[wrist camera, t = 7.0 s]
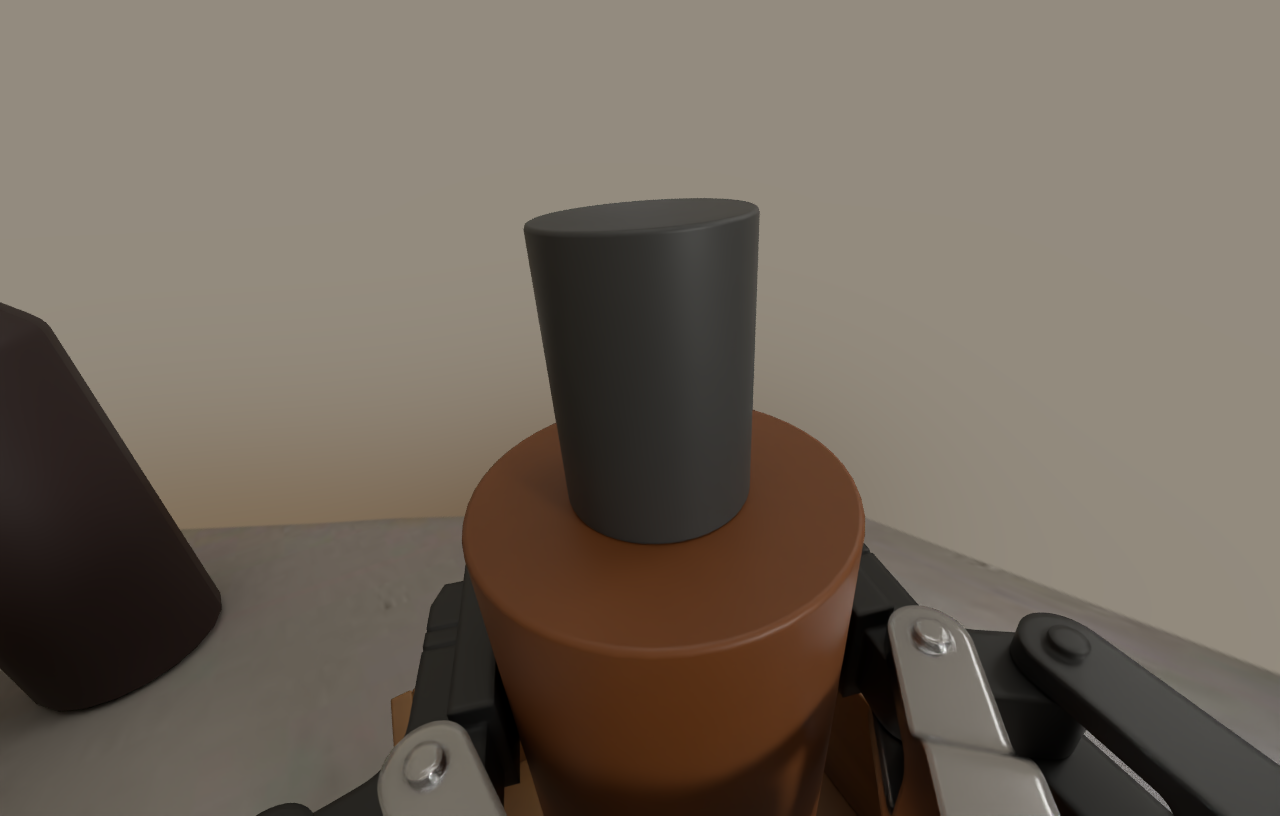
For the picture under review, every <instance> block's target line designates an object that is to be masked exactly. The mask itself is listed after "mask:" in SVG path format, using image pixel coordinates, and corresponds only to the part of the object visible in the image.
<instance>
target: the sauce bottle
mask: <svg viewBox="0 0 1280 816" xmlns="http://www.w3.org/2000/svg"><path fill="white" fill-rule="evenodd" d="M524 235H525V240H526V247H527V253H528V259H529V265H530V270H531V277H532V282H533V288H534V294H535V300H536V306H537V312H538V318H539V324H540V330H541V335H542V342H543V347H544V353H545V359H546V365H547V371H548V377H549V383H550V388H551V395H552V400H553V407H554V413H555V419H556V423H554V424H552V425H550V426H549V427H546V428H544V429H542V430H540V431H538V432H536V433H535V434H533V435H532V436H530V437H528V438H526V439H525V440H523V441H522V442H520V443H519V444H518V445H516V446H515V447H513V448H512V449H511V450H509V451H508V452H507V453H506V454H505V455H503V456H502V457H501V458H500V459H499V460H498V461H497V462H496V463H495V464H494V465H493V466H492V467H491V468H490V469H489V471H488V472H487V473H486V474H485V475H484V477H483V478H482V479H481V481H480V482H479V484H478V486H477V487H476V489H475V490H474V492H473V495H472V497H471V499H470V501H469V503H468V506H467V510H466V514H465V518H464V522H463V530H462V546H463V552H464V558H465V562H466V566H467V569H468V572H469V575H470V579H471V582H472V585H473V588H474V591H475V595H476V598H477V601H478V604H479V608H480V611H481V614H482V617H483V621H484V624H485V627H486V630H487V634H488V637H489V640H490V643H491V647H492V650H493V653H494V656H495V659H496V663H497V666H498V669H499V672H500V676H501V679H502V682H503V685H504V689H505V692H506V695H507V698H508V702H509V705H510V708H511V711H512V714H513V718H514V721H515V724H516V727H517V731H518V734H519V737H520V740H521V744H522V747H523V750H524V753H525V757H526V760H527V763H528V766H529V770H530V773H531V776H532V779H533V782H534V786H535V789H536V792H537V795H538V799H539V802H540V805H541V808H542V812H543V815H544V816H816V812H817V807H818V801H819V795H820V790H821V784H822V778H823V772H824V767H825V761H826V755H827V749H828V744H829V738H830V732H831V726H832V721H833V715H834V709H835V703H836V698H837V692H838V686H839V680H840V675H841V669H842V663H843V657H844V652H845V646H846V640H847V634H848V629H849V623H850V617H851V611H852V606H853V600H854V594H855V588H856V583H857V577H858V571H859V565H860V560H861V554H862V548H863V542H864V537H865V514H864V509H863V504H862V499H861V497H860V494H859V492H858V490H857V487H856V485H855V482H854V480H853V478H852V477H851V475H850V474H849V472H848V471H847V469H846V468H845V466H844V465H843V464H842V463H841V462H840V461H839V459H838V458H837V457H836V456H835V455H834V454H833V453H832V452H831V451H830V450H829V449H828V448H826V447H825V446H824V445H823V444H822V443H820V442H819V441H818V440H816V439H815V438H813V437H812V436H810V435H809V434H807V433H806V432H804V431H802V430H801V429H799V428H797V427H795V426H793V425H791V424H789V423H787V422H785V421H782V420H780V419H778V418H775V417H773V416H770V415H767V414H764V413H761V412H758V411H755V410H753V382H754V381H753V380H754V352H755V326H756V325H755V324H756V297H757V268H758V241H759V240H758V239H759V208H758V207H757V206H756V205H754V204H752V203H749V202H746V201H739V200H731V199H711V198H693V199H692V198H691V199H664V200H663V199H661V200H645V201H632V202H622V203H612V204H603V205H595V206H587V207H581V208H575V209H569V210H563V211H558V212H554V213H549V214H546V215H542V216H539V217H536V218H534V219H532V220H530V221H528V222H527V223H525V226H524Z"/></svg>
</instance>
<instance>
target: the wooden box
mask: <svg viewBox="0 0 1280 816" xmlns="http://www.w3.org/2000/svg"><path fill="white" fill-rule="evenodd" d="M414 691H415V689H413V692H412V691H408V692H406V693H404V694H401V695H399V696H397V697H395V698H393V699H391V713H392V727H393V742H394V747H395V746H396V745H397V744H398V742H400V741H401V740H402V739H403V738H404V736H405V733H406V730H407V726H408V722H409V717H410V712H411V706H412V701H413V696H414ZM868 710H869V704H868V703H867V701H866V700H865V698H864V696H863V695H862V693H859V694H855V695H851V696H848V697H844V698H843V697H842V695H841V694H840V692H839V690H838V692H837V698H836V703H835V709H834V715H833V721H832V726H831V732H830V738H829V744H828V749H827V755H826V761H825V767H824V772H823V778H822V784H821V790H820V795H819V801H818V807H817V812H816V816H881V810H880V803H879V796H878V788H877V781H876V774H875V767H874V760H873V753H872V746H871V739H870V732H869V725H868ZM504 810H505V812H506V814H507V816H544V815H543V812H542V808H541V805H540V802H539V799H538V795H537V792H536V789H535V786H534V782H533V779H532V776H531V773H530V770H529V766H528V763H527V760H526V757H525V753H524V750H523V747H522V744H521V740H520V783H519V784H515V785H511V786H507V787H504Z"/></svg>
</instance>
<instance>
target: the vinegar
mask: <svg viewBox="0 0 1280 816" xmlns="http://www.w3.org/2000/svg"><path fill="white" fill-rule="evenodd" d="M221 609H222V608H221V596H220V592H219V590H218V589H217V587H216V586H215V584H214V583H213V581H212V579H211V578H210V576H209V575H208V573H207V572H206V570H205V568H204V567H203V565H202V564H201V562H200V561H199V559H198V557H197V556H196V554H195V553H194V551H193V550H192V548H191V547H190V545H189V543H188V542H187V540H186V539H185V537H184V536H183V534H182V532H181V531H180V529H179V528H178V526H177V525H176V523H175V522H174V520H173V518H172V517H171V515H170V514H169V512H168V511H167V509H166V508H165V506H164V504H163V503H162V501H161V500H160V498H159V496H158V495H157V493H156V492H155V490H154V489H153V487H152V486H151V484H150V482H149V481H148V479H147V478H146V476H145V475H144V473H143V472H142V470H141V468H140V467H139V465H138V464H137V462H136V461H135V459H134V457H133V456H132V454H131V453H130V451H129V450H128V448H127V446H126V445H125V443H124V442H123V440H122V439H121V437H120V436H119V434H118V432H117V431H116V429H115V428H114V426H113V425H112V423H111V421H110V420H109V418H108V417H107V415H106V414H105V412H104V410H103V409H102V407H101V406H100V404H99V403H98V401H97V399H96V398H95V396H94V395H93V393H92V392H91V390H90V388H89V387H88V386H87V384H86V382H85V381H84V379H83V378H82V376H81V374H80V373H79V371H78V370H77V368H76V367H75V365H74V363H73V362H72V360H71V359H70V357H69V356H68V354H67V353H66V351H65V349H64V348H63V346H62V345H61V343H60V342H59V340H58V338H57V337H56V335H55V334H54V332H53V331H52V329H51V328H50V327H49V325H48V324H47V323H46V322H44V321H43V320H42V319H40V318H38V317H36V316H34V315H31V314H29V313H27V312H24V311H21V310H19V309H16V308H14V307H11V306H8V305H6V304H3V303H0V669H1V670H2V671H3V672H4V673H5V674H6V675H7V676H8V677H9V678H11V679H12V680H13V681H14V682H15V683H16V684H17V685H18V686H19V687H20V688H21V689H22V690H23V691H24V692H25V693H26V694H27V695H28V696H29V697H30V698H31V699H32V700H33V701H34V702H35V703H36V704H38V705H41V706H44V707H47V708H50V709H53V710H57V711H65V710H75V709H84V708H88V707H91V706H95V705H98V704H101V703H104V702H107V701H110V700H113V699H117V698H119V697H121V696H123V695H125V694H127V693H129V692H131V691H133V690H136V689H138V688H140V687H142V686H144V685H146V684H148V683H149V682H151V681H152V680H154V679H155V678H157V677H159V676H160V675H162V674H163V673H165V672H166V671H168V670H169V669H171V668H172V667H174V666H175V665H176V664H178V663H179V662H180V661H181V660H182V659H183V658H185V657H186V656H187V655H188V654H189V653H190V652H191V651H193V650H194V649H195V648H196V647H197V646H198V645H199V644H200V643H201V641H202V640H203V639H204V638H205V636H206V635H207V634H208V633H209V632H210V630H211V629H212V628H213V626H214V625H215V623H216V620H217V618H218V616H219V614H220V612H221Z"/></svg>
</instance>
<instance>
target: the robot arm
mask: <svg viewBox="0 0 1280 816" xmlns="http://www.w3.org/2000/svg"><path fill="white" fill-rule="evenodd" d="M838 690H839V692H840V694H841V695H842V697H843V698H844V697H848V696H851V695H855V694H859V693H862V695H863V696H864V698H865V700H866V701H867V703H868V704H869V710H868V725H869V732H870V739H871V746H872V753H873V760H874V767H875V774H876V781H877V788H878V796H879V803H880V810H881V816H1280V766H1279V765H1278V764H1277V763H1275V762H1274V761H1273V760H1271V759H1270V758H1268V757H1267V756H1266V755H1264V754H1263V753H1261V752H1260V751H1259V750H1257V749H1256V748H1254V747H1253V746H1252V745H1250V744H1249V743H1248V742H1246V741H1245V740H1243V739H1242V738H1241V737H1239V736H1238V735H1236V734H1235V733H1234V732H1232V731H1231V730H1230V729H1228V728H1227V727H1225V726H1224V725H1223V724H1221V723H1220V722H1218V721H1217V720H1216V719H1214V718H1213V717H1211V716H1210V715H1209V714H1207V713H1206V712H1205V711H1203V710H1202V709H1200V708H1199V707H1198V706H1196V705H1195V704H1193V703H1192V702H1191V701H1189V700H1188V699H1187V698H1185V697H1184V696H1182V695H1181V694H1180V693H1178V692H1177V691H1175V690H1174V689H1173V688H1171V687H1170V686H1168V685H1167V684H1166V683H1164V682H1163V681H1162V680H1160V679H1159V678H1157V677H1156V676H1155V675H1153V674H1152V673H1150V672H1149V671H1148V670H1146V669H1145V668H1144V667H1142V666H1141V665H1139V664H1138V663H1137V662H1135V661H1134V660H1132V659H1131V658H1130V657H1128V656H1127V655H1125V654H1124V653H1123V652H1121V651H1120V650H1119V649H1117V648H1116V647H1114V646H1113V645H1112V644H1110V643H1109V642H1107V641H1106V640H1105V639H1103V638H1102V637H1101V636H1099V635H1098V634H1096V633H1095V632H1094V631H1092V630H1090V629H1089V628H1087V627H1086V626H1084V625H1082V624H1080V623H1078V622H1076V621H1074V620H1072V619H1069V618H1066V617H1063V616H1060V615H1056V614H1051V613H1032V614H1029V615H1026V616H1025V617H1023V618H1022V619H1021V620H1020V622H1019V624H1018V627H1017V629H1016V632H999V631H984V630H971V629H965V628H964V627H963V626H962V625H961V624H959V623H958V622H957V621H956V620H954V619H953V618H952V617H950V616H948V615H947V614H945V613H943V612H941V611H938V610H936V609H933V608H930V607H925V606H919V605H918V604H917V603H916V602H915V600H914V599H913V598H912V597H911V596H910V595H909V594H908V593H907V591H906V590H905V589H904V588H903V587H902V586H901V585H900V583H899V582H898V581H897V580H896V579H895V578H894V577H893V576H892V574H891V573H890V572H889V571H888V570H887V569H886V568H885V566H884V565H883V564H882V563H881V562H880V561H879V560H878V559H877V557H876V556H875V555H874V554H873V553H870V551H869V548H868V547H867V546H866V545H865V544H864V543H863V548H862V554H861V560H860V565H859V571H858V577H857V583H856V588H855V594H854V600H853V606H852V611H851V617H850V623H849V629H848V634H847V640H846V646H845V652H844V657H843V663H842V669H841V675H840V680H839V686H838ZM1086 730H1087V731H1089V732H1090V733H1091V734H1092V735H1093V736H1094V737H1095V738H1097V739H1098V740H1099V741H1100V742H1101V743H1102V744H1103V745H1105V746H1106V747H1107V748H1108V749H1109V750H1110V751H1111V752H1112V753H1114V754H1115V755H1116V756H1117V757H1118V758H1119V759H1120V760H1122V761H1123V762H1124V763H1125V764H1126V765H1127V766H1128V767H1130V768H1131V769H1132V770H1133V771H1134V772H1135V773H1136V774H1137V775H1139V776H1140V777H1141V778H1142V779H1143V780H1144V781H1145V782H1147V783H1148V784H1149V785H1150V786H1151V787H1152V788H1153V789H1154V790H1155V791H1157V792H1158V793H1159V794H1160V796H1161V797H1162V798H1163V799H1164V800H1165V801H1166V803H1167V804H1168V806H1169V807H1170V809H1171V811H1172V813H1173V814H1172V813H1171V812H1170V811H1169V810H1168V809H1166V808H1165V807H1164V806H1163V805H1162V804H1161V803H1160V802H1159V801H1157V800H1156V799H1155V798H1154V797H1153V796H1152V795H1151V794H1150V793H1149V792H1147V791H1146V790H1145V789H1144V788H1143V787H1142V786H1141V785H1140V784H1138V783H1137V782H1136V781H1135V780H1134V779H1133V778H1132V777H1131V776H1129V775H1128V774H1127V773H1126V772H1125V771H1124V770H1123V769H1122V768H1120V767H1119V766H1118V765H1117V764H1116V763H1115V762H1114V761H1113V760H1112V759H1110V758H1109V757H1108V756H1107V755H1106V754H1105V753H1104V752H1103V751H1101V750H1100V749H1099V748H1098V747H1097V746H1096V745H1095V744H1094V743H1092V742H1091V741H1090V740H1089V739H1088V738H1087V737H1086V736H1085V735H1083V734H1084V733H1085V731H1086ZM519 783H520V737H519V734H518V731H517V727H516V724H515V721H514V718H513V714H512V711H511V708H510V705H509V702H508V698H507V695H506V692H505V689H504V685H503V682H502V679H501V676H500V672H499V669H498V666H497V663H496V659H495V656H494V653H493V650H492V647H491V643H490V640H489V637H488V634H487V630H486V627H485V624H484V621H483V617H482V614H481V611H480V608H479V604H478V601H477V598H476V595H475V591H474V588H473V585H472V582H471V579H470V575H469V572H468V569H467V566H465V574H464V581H461V582H456V583H451V584H446V585H444V587H443V588H442V590H441V591H440V593H439V594H438V596H437V598H436V599H435V601H434V602H433V604H432V605H431V608H430V613H429V618H428V623H427V633H426V634H425V639H424V644H423V652H422V655H421V660H420V665H419V670H418V675H417V680H416V686H415V691H414V696H413V701H412V706H411V712H410V717H409V722H408V726H407V730H406V733H405V736H404V738H403V739H402V740H401V741H400V742H398V744H397V745H396V746H395V747H394V748H393V749H392V751H391V752H390V754H389V755H388V757H387V758H386V760H385V762H384V764H383V766H382V769H381V770H380V771H379V772H378V773H377V774H376V775H375V776H373V777H372V778H371V779H370V780H368V781H367V782H365V783H364V784H362V785H361V786H359V787H358V788H356V789H354V790H352V791H351V792H349V793H347V794H346V795H344V796H342V797H340V798H339V799H337V800H335V801H333V802H332V803H330V804H328V805H327V806H325V807H323V808H321V809H320V810H318V811H316V812H314V813H313V812H312V811H311V810H310V809H309V808H308V807H306V806H304V805H302V804H297V803H286V804H281V805H277V806H275V807H272V808H269V809H267V810H265V811H263V812H261V813H260V814H258V815H256V816H507V814H506V812H505V810H504V787H507V786H511V785H515V784H519Z"/></svg>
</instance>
